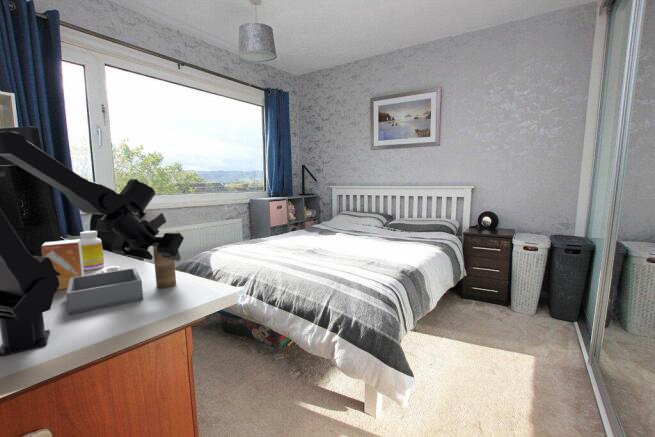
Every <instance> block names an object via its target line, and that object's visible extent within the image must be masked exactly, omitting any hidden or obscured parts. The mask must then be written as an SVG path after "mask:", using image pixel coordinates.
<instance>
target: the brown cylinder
mask: <svg viewBox="0 0 655 437" xmlns="http://www.w3.org/2000/svg"><path fill="white" fill-rule="evenodd" d="M152 249H153V260H154V261H153V262H154V269H155V270H154V271H155V283H156V284H155V285H156V289H167V288H168V287H169V288H172V287H175V286H176V285H177V280H176V279H177V277H176V265H175V263H176V262H175V260H171V259H168V258H165V257H162V255H160V254H159V253H158V252H157V246H152ZM175 284H176V285H175ZM174 285H175V286H174ZM169 288H168V289H169Z"/></svg>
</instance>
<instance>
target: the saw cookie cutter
mask: <svg viewBox="0 0 655 437" xmlns="http://www.w3.org/2000/svg"><path fill="white" fill-rule="evenodd" d="M117 270H122V268H121V267H120V266H118V265H117V266H115V265H114V266H108V267H107V266H106V267H103V268H100V272H99V273H104V272H111V271H117Z"/></svg>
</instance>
